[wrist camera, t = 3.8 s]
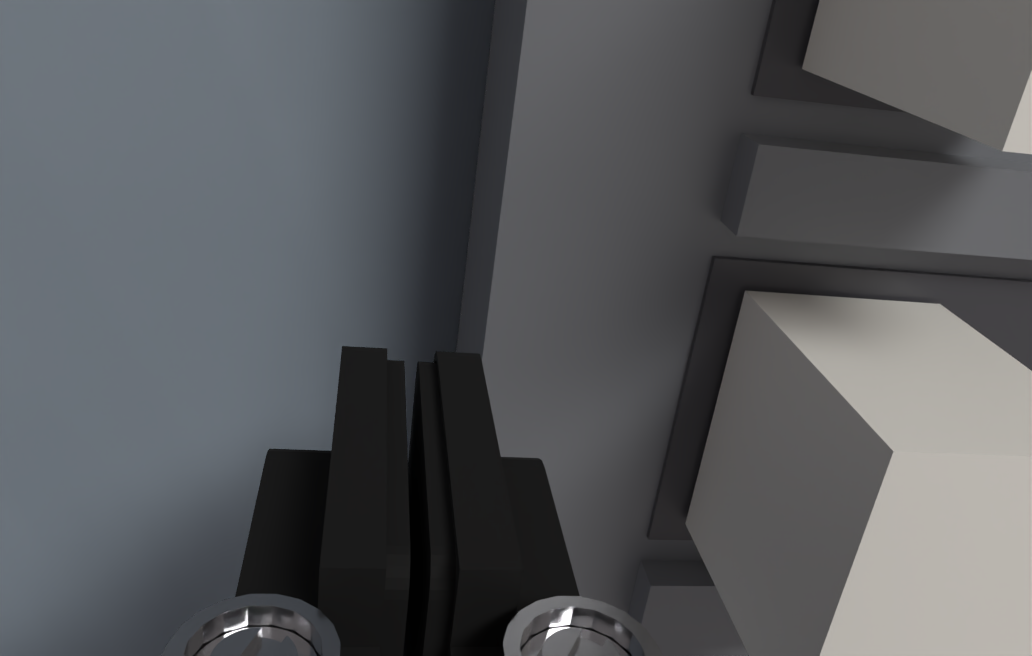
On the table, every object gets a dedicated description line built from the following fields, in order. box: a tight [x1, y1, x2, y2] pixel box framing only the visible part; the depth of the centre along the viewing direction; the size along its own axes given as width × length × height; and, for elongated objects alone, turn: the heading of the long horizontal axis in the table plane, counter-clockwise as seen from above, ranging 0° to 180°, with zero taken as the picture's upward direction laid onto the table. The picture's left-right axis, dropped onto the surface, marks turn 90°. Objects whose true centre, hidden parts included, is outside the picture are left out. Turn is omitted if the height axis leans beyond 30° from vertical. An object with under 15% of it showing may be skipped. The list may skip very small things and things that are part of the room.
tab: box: [685, 290, 1032, 656], centre depth 12 cm, size 4×3×4 cm
